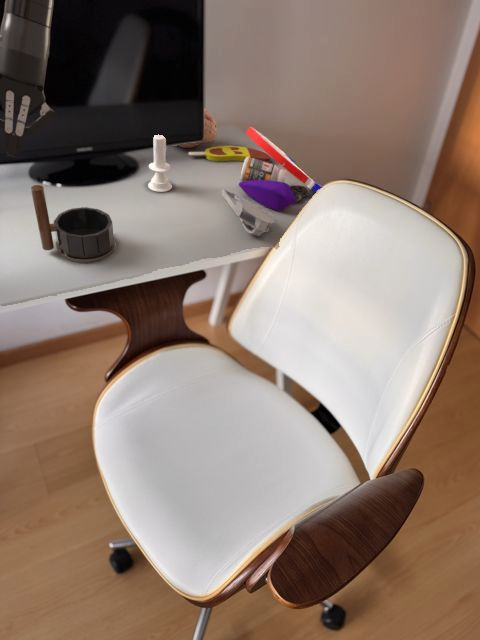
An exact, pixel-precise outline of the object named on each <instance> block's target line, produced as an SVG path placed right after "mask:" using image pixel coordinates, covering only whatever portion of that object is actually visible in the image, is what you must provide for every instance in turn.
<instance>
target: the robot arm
mask: <svg viewBox="0 0 480 640" xmlns="http://www.w3.org/2000/svg"><path fill="white" fill-rule="evenodd" d="M54 6H55V0H5V2H4V12H3V18H2V21H1V25H0V106H1V108H2V110H4V111H5V114H4V116H5V117H4V119H2V118H1V117H0V129H1V130H3V132H4V133H3V134H4V135H3V143H2V150H3V151H4V152H6V156H9V157H14V158H16V155H20V154H21V151H22V143H23V138H24V137H25V136H34V135H35V134H36V133H37V132H39V131H40V130H41V129H43V128H44V127H45V126H46V125H47V124H48V123H49V122H51V121H52V120H54V118H55V117H56V113H55V110H54V109H52V108H51V107H50V106H49V105H48V104H47V102H46V96H45V92H44V91H45V90H44V89H45V82H46V76H47V75H46V74H47V67H48V59H49V57H50V46H51V27H52V21H53V20H52V18H53V13H54ZM40 108H41V109H40ZM38 109H40V111H39V117H38V118H37V119H35V120H34V121H33V122H31V124H29V125H28V126H26V121H27V117H30V116H31V115H33V114H34V113H35V112H36V111H37V110H38ZM14 113H16V114H18V116H17V121H16V125H15V131H14V127H13V126H14ZM13 131H14V132H13Z"/></svg>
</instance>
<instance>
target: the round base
mask: <svg viewBox="0 0 480 640" xmlns="http://www.w3.org/2000/svg"><path fill="white" fill-rule="evenodd" d="M116 247H117V244H116V239H115V238H114V241H113V246H112V248H111V249H110V250H109V251H108V252H106V253H105V254H103V255H100V256H97V257H92V258H76V257H72V256H69V255H67V254H65V253H63V252H62V251H61V250H60V249H59V246H58V242H57V240H56V242H55V248H56V252H57V254H58V255H59V256H60V257H61V258H62V259H64V260H66V261H70V262H72V263H78V264H90V263H92V264H93V263H96V262H101V261H103V260H105V259H108V258H109V257H110V256H112V255H113V254H114V252H115V251H116Z"/></svg>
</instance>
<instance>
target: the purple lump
mask: <svg viewBox="0 0 480 640" xmlns="http://www.w3.org/2000/svg"><path fill="white" fill-rule="evenodd" d="M238 186H239V188H240V189H241V190H242V191H243V192H244V193H245V194H246V196H248V197H249V198H251V199H252V200H254V201H255V202H256V203H259V204H260V205H262V206H263V207H265V208H269V209H271V210H273V211H277V212H279V211H283V210H284V209H287V208H289V207H290V206H291V205H293V204H295V203H297V202H296V198H295V196H294V193H293V191H292V189H291V187H290V186H291V185H289V184H288V183H287V182H278V181H271V180H250V181H243V182H242V181H240V182H238Z"/></svg>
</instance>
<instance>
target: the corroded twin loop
mask: <svg viewBox="0 0 480 640" xmlns="http://www.w3.org/2000/svg"><path fill="white" fill-rule="evenodd" d="M289 186H290V187H291V189H292V191H293V193H294V196H295V198H296V202H295V203H298V202H300V201H301V200H302V198H306V197H307V196H308V195H309V193H310V192H309V188H308V187H307V186H304V185H298V184H296V185H295V184H293V185H289Z"/></svg>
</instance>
